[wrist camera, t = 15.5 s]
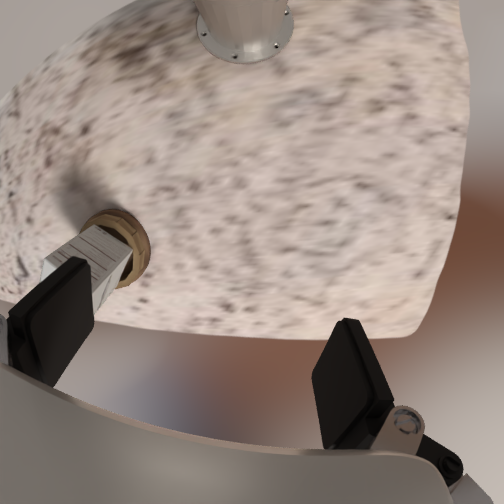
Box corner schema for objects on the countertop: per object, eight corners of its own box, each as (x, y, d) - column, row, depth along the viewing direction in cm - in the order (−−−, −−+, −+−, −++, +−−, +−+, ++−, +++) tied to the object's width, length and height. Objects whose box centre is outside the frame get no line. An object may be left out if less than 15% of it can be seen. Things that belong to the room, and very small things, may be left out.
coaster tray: (86, 203, 39) (74, 209, 36) (154, 217, 40) (146, 225, 37) (85, 270, 44) (75, 280, 40) (147, 288, 45) (140, 299, 41)
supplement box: (118, 286, 41) (79, 336, 29) (80, 260, 39) (34, 303, 27) (135, 248, 38) (93, 295, 26) (94, 221, 37) (41, 257, 25)
